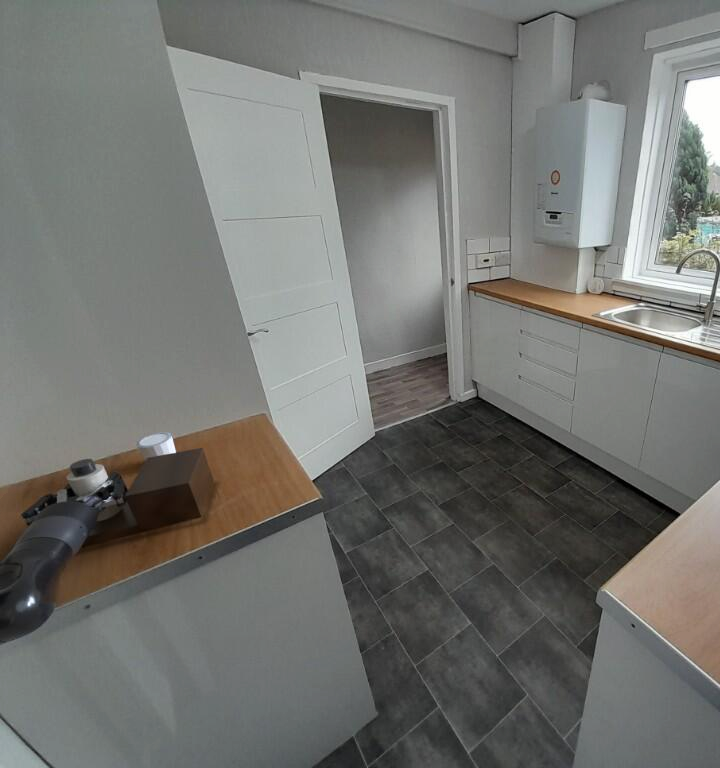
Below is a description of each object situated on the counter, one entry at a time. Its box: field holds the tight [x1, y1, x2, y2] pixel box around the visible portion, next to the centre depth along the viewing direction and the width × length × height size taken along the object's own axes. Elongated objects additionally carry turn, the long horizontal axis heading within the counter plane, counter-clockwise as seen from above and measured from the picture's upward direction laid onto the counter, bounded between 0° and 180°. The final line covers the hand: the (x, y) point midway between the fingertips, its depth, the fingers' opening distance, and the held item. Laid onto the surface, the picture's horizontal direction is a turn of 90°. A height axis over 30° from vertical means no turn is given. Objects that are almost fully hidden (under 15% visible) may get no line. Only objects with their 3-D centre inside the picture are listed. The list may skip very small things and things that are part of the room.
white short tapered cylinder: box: [135, 431, 177, 461], centre depth 102 cm, size 7×7×7 cm
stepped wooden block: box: [80, 447, 215, 549], centre depth 84 cm, size 22×14×10 cm, turn 115°
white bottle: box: [66, 458, 122, 521], centre depth 80 cm, size 5×5×12 cm
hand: (97, 478), depth 82 cm, fingers open, 5 cm apart
